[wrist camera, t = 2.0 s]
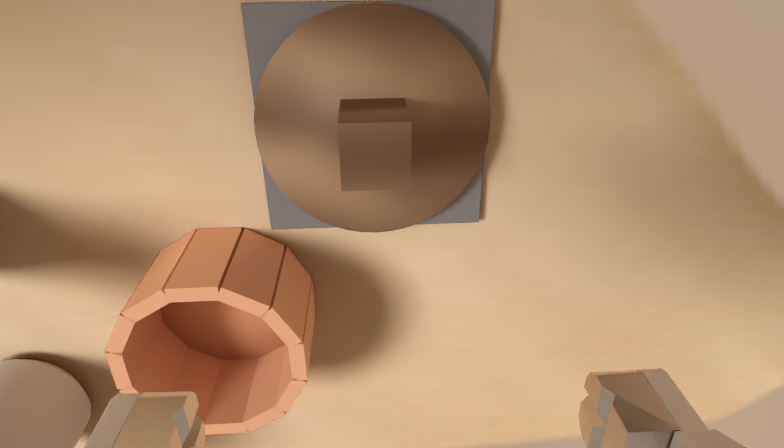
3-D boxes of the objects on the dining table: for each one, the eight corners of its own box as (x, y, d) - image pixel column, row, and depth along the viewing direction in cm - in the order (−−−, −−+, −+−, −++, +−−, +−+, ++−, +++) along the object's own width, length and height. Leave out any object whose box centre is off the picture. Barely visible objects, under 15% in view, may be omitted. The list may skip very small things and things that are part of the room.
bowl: (131, 231, 30) (83, 292, 25) (307, 225, 31) (296, 283, 25) (168, 363, 35) (134, 438, 30) (319, 356, 35) (313, 429, 30)
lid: (241, 3, 25) (216, 15, 20) (495, -1, 25) (523, 10, 21) (271, 229, 30) (257, 275, 26) (478, 222, 31) (497, 266, 27)
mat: (242, 3, 25) (241, 3, 25) (493, -2, 25) (495, -1, 25) (272, 226, 31) (271, 229, 30) (477, 218, 31) (478, 222, 31)
